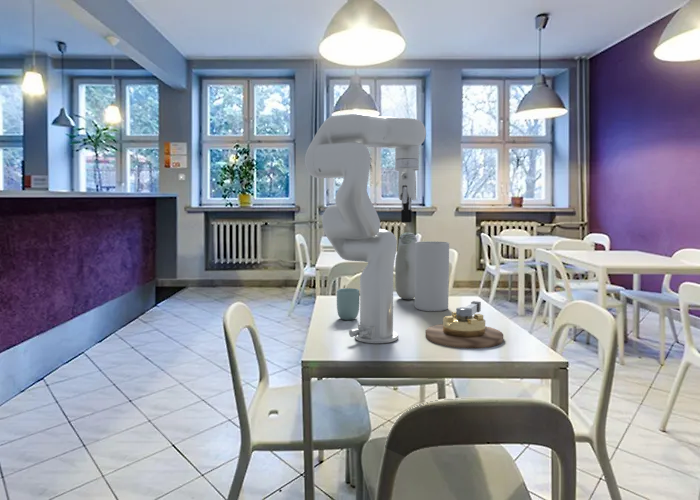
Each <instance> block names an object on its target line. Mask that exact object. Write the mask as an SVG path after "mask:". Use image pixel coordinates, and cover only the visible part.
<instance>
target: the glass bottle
mask: <svg viewBox="0 0 700 500" xmlns="http://www.w3.org/2000/svg"><path fill="white" fill-rule="evenodd" d="M415 242H418V239H417V236H416V234H414V233H413V232H409V231H408V232H402V233H401V234H400V236H399V238H398V243H397V249H396V254H395V260H394V272H395V274H394V276H395V279H394V280H395V292H396V294H397V296H398V297H399V298H401V299H402V298H403V300H413V299H415Z"/></svg>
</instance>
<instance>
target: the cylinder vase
mask: <svg viewBox="0 0 700 500" xmlns="http://www.w3.org/2000/svg"><path fill="white" fill-rule="evenodd" d="M449 272H450V242H448V241H417V242H415V298H414V308H415V309H417V310H418V311H422V312H443V311H444V312H445V311H447V310H448V308H449V292H450V291H449V284H450V283H449V281H450V277H449V276H450V273H449Z"/></svg>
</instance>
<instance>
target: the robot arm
mask: <svg viewBox="0 0 700 500" xmlns="http://www.w3.org/2000/svg"><path fill="white" fill-rule="evenodd" d="M426 134H427V131H426V127H425V125H424V122H422V121H421V120H420V119H416V118H410V117H395V116H394V117H392V116H381V115H380V116H379V115H375V114H370V113H369V114H368V113H364V112H363V113H362V112H354V113H353V112H352V113H346V114H339V115H338V114H337V115H331V116H329V117H327V118H326V119H325V120H324V121H323V123H322V124H321V125H320V127H319V129H318V130H317V132H315V134H314V137H312V138H313V139H312V140H311V141H310V144H309V145H308V148H307V149H306V152H305V156H304V166H305V169H306V172H307V173H308V174H309V175H310V176H311V177H312V178H313V177H314V178H316V179H330V178H331V179H333V178H334V179H335V178H339V179H340V178H343V181H342V183H341V185H340V186H339V188H338V190H337V192H336V194H335V200H334V201H335V204H332V205H329V206H328V207H326V208H325V210H324V212H323V214H322V219H321V221H322V222H321V223H322V229H323V232H324V234H325V237H326V238H327V240H328V241H329V243H330V244H331V246H332V247H333V249H334V250H335V251H336V253H337V254H338V256H339V257H340V258H341V259H342V260H345V261H348V262H361V263H363V262H364V263H367V265H366V266H365V268H364V269H363V270H362V273H361V274H360V279H359V323H358V324H357V327H356V328H353V329H350V330H349V331H348V335H349V336H350V337H351V338H353V337H354V339H356V340H357V341H359V342H362V343H365V344H366V343H367V344H388V343H392V342H395V341H397V340H398V339H399V334H398V333H397V332H396V331H394V271H395V261H396V255H397V250H398V241H397V238H396V235H395V234H394V233H393V231H391V230H387V229H382V228H381V220H380V217H379V214H378V212H377V210H376V208H375V207H374V204H373V203H372V201H371V199H370V197H369V195H368V183H369V175H370V169H371V154H370V150H369V149H368V148H390V149H391V148H395V151H394V152H395V153H394V154H395V159H394V161H395V163H394V165H395V166H394V168H395V169H394V170H395V171H397V172H398V177H397V178H398V179H397V180H398V183H397V184H398V188H397V189H398V199H399V200H400V201H401V211H400V212H401V217H400V218H401V221H400V222H401V223H412V222H413V221H412V219H413V217H412V216H413V214H412V212H413V210H412V203H413V202H412V201H414V202H415V201H416V200H417V175H416V172H417V171H419V170H420V169H419V165H420V163H419V162H420V161H419V159H420V155H419V154H420V153H419V152H420V151H419V150H420V145H422V144H423V143H424V142H425V140H426Z"/></svg>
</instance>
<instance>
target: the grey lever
mask: <svg viewBox="0 0 700 500" xmlns="http://www.w3.org/2000/svg"><path fill="white" fill-rule="evenodd" d="M481 306H482V305H481V301H478V300H477V301H475V300H473V301H470V304H468V305H467V306H465V307H464V306H463V307H456V311H451V315H445V316H444V317H442V324H443V332H445V333H447V334H450V335H454V336H462V337H475V336H481V335H484V334H485V326H486V320H485V319H484V315H483V314H481V313H480V312H481V309H482V307H481Z"/></svg>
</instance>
